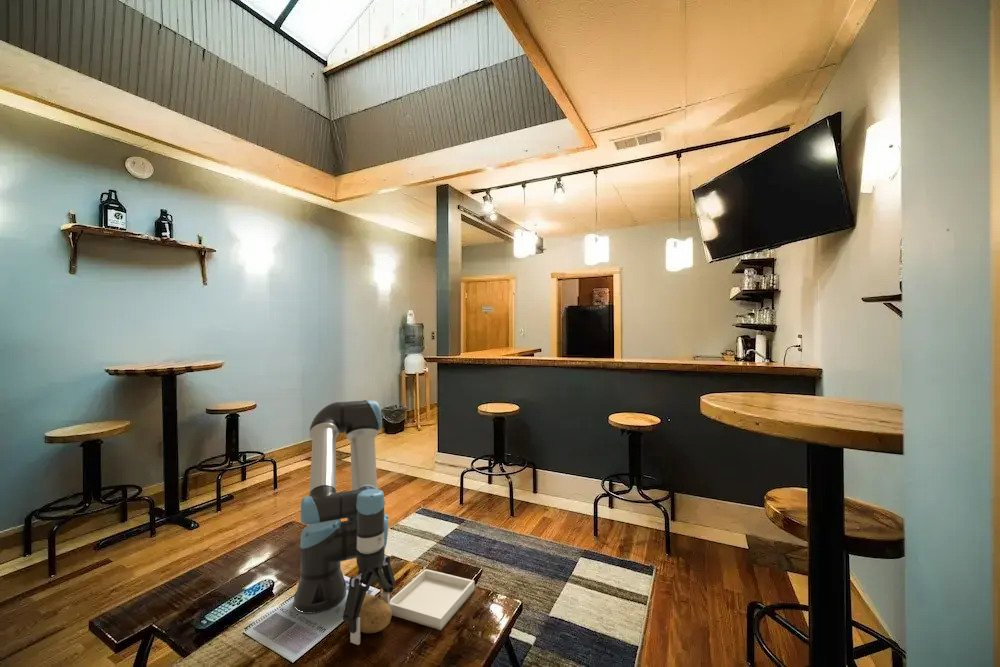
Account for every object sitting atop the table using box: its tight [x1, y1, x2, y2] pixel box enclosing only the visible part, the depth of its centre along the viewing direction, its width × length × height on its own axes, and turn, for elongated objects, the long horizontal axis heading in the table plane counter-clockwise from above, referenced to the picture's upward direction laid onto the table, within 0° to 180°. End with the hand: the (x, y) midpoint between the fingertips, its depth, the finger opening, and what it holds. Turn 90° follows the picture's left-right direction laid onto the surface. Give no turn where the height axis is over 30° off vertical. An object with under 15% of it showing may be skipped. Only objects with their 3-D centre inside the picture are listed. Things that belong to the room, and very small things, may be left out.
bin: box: [390, 568, 476, 631], centre depth 122 cm, size 19×20×3 cm
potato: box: [354, 592, 392, 634], centre depth 110 cm, size 10×14×8 cm
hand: (370, 628), depth 110 cm, fingers open, 11 cm apart
